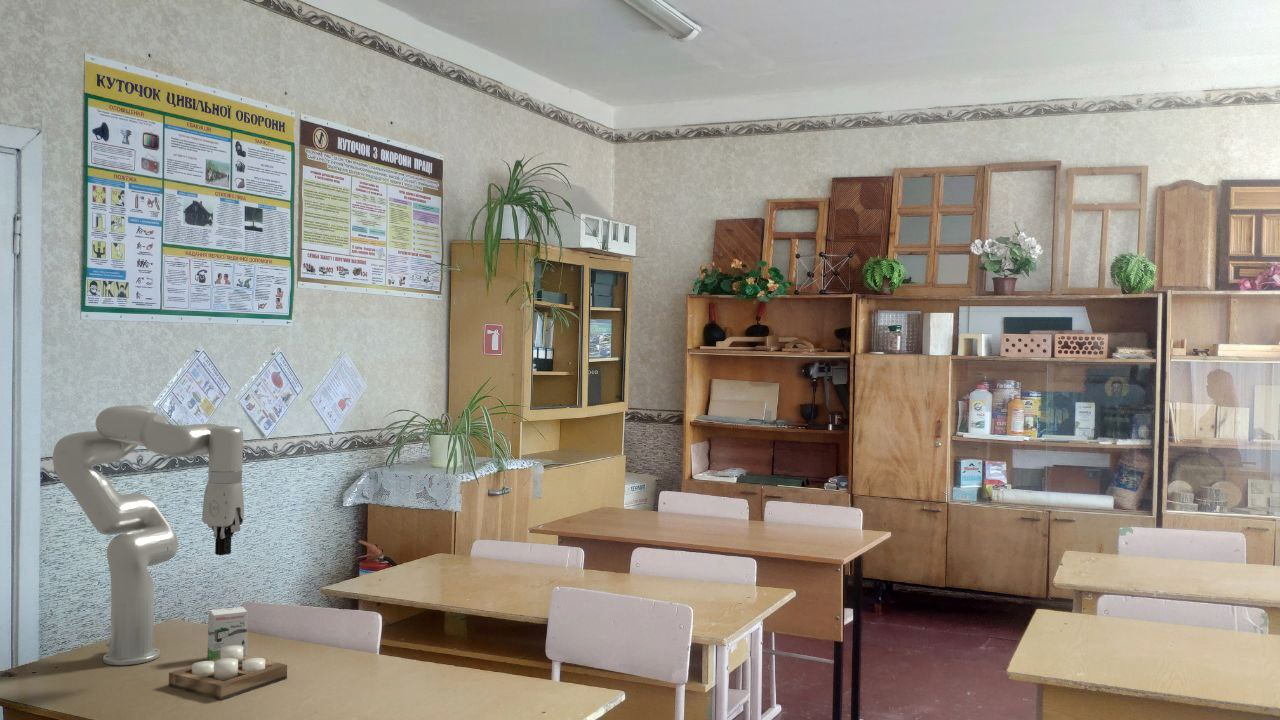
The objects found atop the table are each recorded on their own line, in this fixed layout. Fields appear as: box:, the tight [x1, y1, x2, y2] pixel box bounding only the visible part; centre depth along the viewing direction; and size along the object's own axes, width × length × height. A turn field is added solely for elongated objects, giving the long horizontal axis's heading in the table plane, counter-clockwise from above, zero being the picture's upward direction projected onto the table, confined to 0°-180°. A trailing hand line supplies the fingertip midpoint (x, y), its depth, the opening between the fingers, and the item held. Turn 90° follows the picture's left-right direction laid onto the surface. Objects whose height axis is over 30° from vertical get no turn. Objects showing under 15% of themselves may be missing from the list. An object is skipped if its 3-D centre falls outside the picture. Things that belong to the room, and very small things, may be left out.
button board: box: [168, 655, 288, 701], centre depth 234 cm, size 18×18×3 cm
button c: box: [214, 658, 238, 680], centre depth 229 cm, size 5×5×4 cm
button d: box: [242, 657, 266, 673], centre depth 236 cm, size 5×5×4 cm
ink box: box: [206, 606, 248, 661], centre depth 254 cm, size 9×5×12 cm, turn 123°
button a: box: [191, 660, 214, 676], centre depth 233 cm, size 5×5×4 cm
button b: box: [220, 645, 243, 665], centre depth 240 cm, size 5×5×4 cm
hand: (223, 554), depth 244 cm, fingers closed
